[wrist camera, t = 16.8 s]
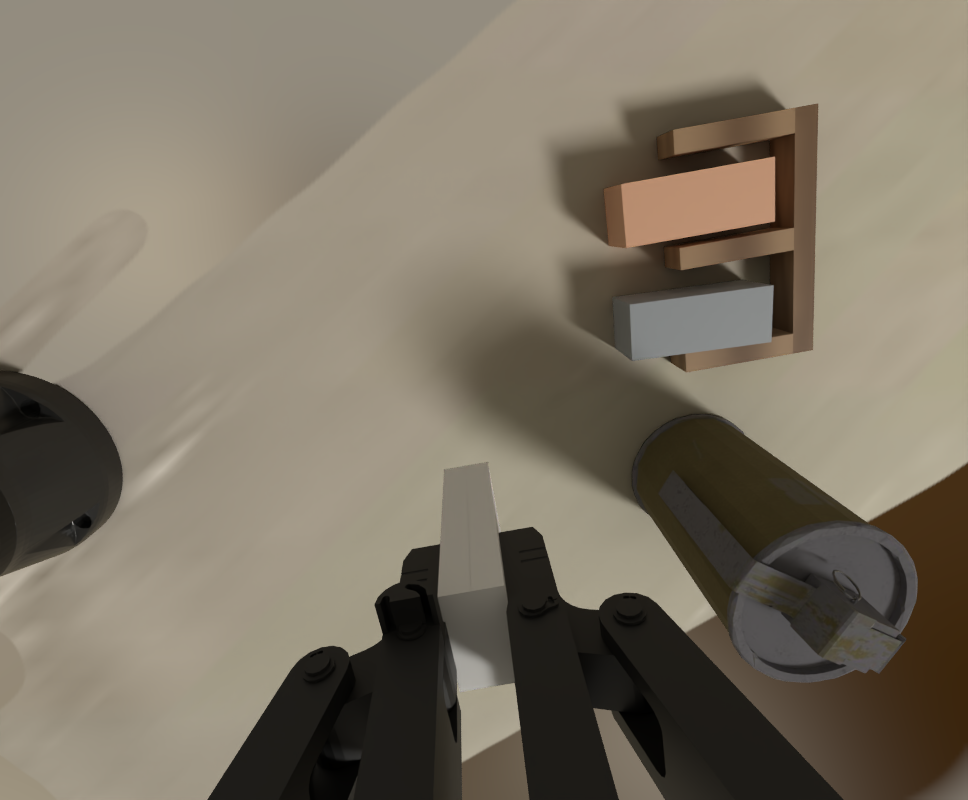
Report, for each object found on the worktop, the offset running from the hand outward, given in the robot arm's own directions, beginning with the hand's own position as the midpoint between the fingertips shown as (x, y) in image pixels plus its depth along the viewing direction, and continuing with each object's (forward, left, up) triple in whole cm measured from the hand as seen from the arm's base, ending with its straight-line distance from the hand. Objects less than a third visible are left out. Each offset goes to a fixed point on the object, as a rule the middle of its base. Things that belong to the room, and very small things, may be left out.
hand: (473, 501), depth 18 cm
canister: (+17, -14, -25) cm, 33 cm away
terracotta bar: (+17, +8, -25) cm, 31 cm away
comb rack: (+20, +4, -24) cm, 32 cm away
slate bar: (+17, 0, -25) cm, 30 cm away
